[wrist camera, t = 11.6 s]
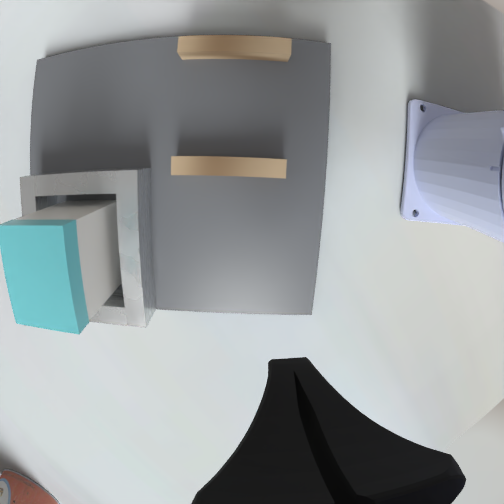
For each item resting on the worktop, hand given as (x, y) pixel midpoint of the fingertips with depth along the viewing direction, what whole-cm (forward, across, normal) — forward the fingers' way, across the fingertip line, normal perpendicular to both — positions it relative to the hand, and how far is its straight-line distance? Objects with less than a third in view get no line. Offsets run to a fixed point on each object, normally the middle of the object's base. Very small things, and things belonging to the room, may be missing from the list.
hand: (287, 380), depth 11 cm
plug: (+10, +11, -3) cm, 15 cm away
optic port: (+10, +11, -3) cm, 15 cm away
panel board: (+10, +6, -7) cm, 14 cm away
